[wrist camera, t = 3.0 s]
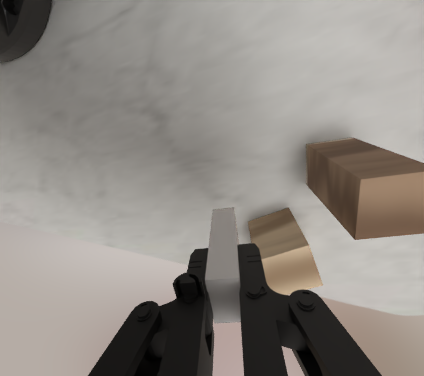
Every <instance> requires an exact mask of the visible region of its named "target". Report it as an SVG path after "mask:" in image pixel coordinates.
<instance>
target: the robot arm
mask: <svg viewBox="0 0 424 376" xmlns="http://www.w3.org/2000/svg"><path fill="white" fill-rule="evenodd" d="M50 6H51V0H0V62H6V61H10V60H13V59H16V58H18V57H20V56H22V55H23V54H25V53H26V52H27V51H28V50H30V49H31V48H32V47H33V46H34V44H35V43H36V42H37V41H38V39H39V38H40V36H41V34H42V32H43V30H44V28H45V26H46V23H47V20H48V16H49V12H50ZM173 287H174V290H175V294H176V297H177V298H176V299H175V300H174V301H172V302H169V303H167V304H164V305H162V306H158V304H157V303H155V302H153V301H146V302H143V303H141V304H139V305H138V306H136V307H135V308H134V310H133V311H132V312H131V313H130V315H129V316H128V318H127V319H126V321H125V322H124V324H123V325H122V327H121V328H120V329H119V331H118V333H117V334H116V335H115V337H114V338H113V340H112V341H111V343H110V344H109V346H108V347H107V349H106V350H105V351H104V353H103V354H102V356H101V357H100V359H99V360H98V362H97V363H96V365H95V366H94V368H93V369H92V371H91V372H90V374H89V375H88V376H212V371H213V349H214V331H213V319H214V323H230V322H241V331H242V347H243V362H244V376H288V374H287V369H286V365H285V360H284V356H283V351H282V346H284V347H287V348H290V349H292V351H293V353H294V355H295V357H296V358H297V361H298V363H299V365H300V367H301V369H302V371H303V373H304V375H305V376H382V375H381V374H380V373H379V372H378V370H377V369H376V368H375V366H374V365H373V364H372V363H371V361H370V360H369V359H368V358H367V356H366V355H365V354H364V352H363V351H362V350H361V349H360V347H359V346H358V345H357V343H356V342H355V341H354V340H353V338H352V337H351V336H350V335H349V333H348V332H347V331H346V329H345V328H344V327H343V326H342V324H341V323H340V322H339V321H338V319H337V318H336V317H335V315H334V314H333V313H332V312H331V310H330V309H329V308H328V307H327V305H326V304H325V303H324V301H323V300H322V299H321V298H320V297H319V296H318V295H317V294H316V293H314V292H312V291H309V290H304V289H302V290H296V291H294V292H292V293H291V295H290V296H288V295H283V294H280V293H277V292H275V291H273V290H272V289H271V288H270V287H269V286H268V285H267V282H266V278H265V273H264V269H263V264H262V259H261V255H260V250H259V248H258V247H257V245H256V244H255V243H250V244H240V245H239V240H238V232H237V225H236V218H235V211H234V207H233V208H224V209H215V210H213V213H212V222H211V231H210V239H209V248H204V249H195V250H194V252H193V253H192V254H191V256H190V260H189V265H188V270H187V273H183V274H181V275H180V276H178V277H177V278H176V279H175V280H174V283H173Z"/></svg>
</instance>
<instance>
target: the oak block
mask: <svg viewBox="0 0 424 376" xmlns="http://www.w3.org/2000/svg"><path fill="white" fill-rule="evenodd" d="M248 225H249V231H250V236H251V242H252V243H255V244H256V245H257V247H258V248H259V250H260V255H261V259H262V264H263V269H264V273H265V278H266V282H267V285H268V286H269V287H270V288H271V289H272V290H273V291H275V292H277V293H280V294H283V295H288V294H291V293H292V292H294V291H296V290H302V289H304V290H307V289H311V288H314V287H318V286H322V285H323V284H322V281H321V278H320V275H319V272H318V270H317V267H316V264H315V261H314V258H313V255H312V252H311V249H310V246H309V244H308V242H307V240H306V239H305V237H304V235H303V233H302V231H301V229H300V228H299V226H298V224H297V222H296V220H295V219H294V217H293V215H292V213H291V211H290V209H289V208H286V209H283V210H280V211H277V212H275V213H272V214H269V215H266V216H263V217H260V218H257V219H254V220H252V221H249V222H248Z"/></svg>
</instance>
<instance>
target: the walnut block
mask: <svg viewBox="0 0 424 376" xmlns="http://www.w3.org/2000/svg"><path fill="white" fill-rule="evenodd" d="M306 185H307V186H308V187H309V188H310V189H311V190H312V191H313V193H314V194H315V195H316V196H317V197H318V198H319V199H320V201H321V202H322V203H323V204H324V205H325V206H326V207H327V209H328V210H329V211H330V212H331V213H332V214H333V215H334V217H335V218H336V219H337V220H338V221H339V222H340V223H341V225H342V226H343V227H344V228H345V229H346V230H347V231H348V232H349V234H350V235H351V236H352V237H353V238H354V239H355V240H359V239H369V238H380V237H390V236H401V235H411V234H422V233H424V163H422V162H419V161H416V160H413V159H410V158H408V157H405V156H402V155H399V154H397V153H394V152H391V151H388V150H385V149H383V148H380V147H377V146H374V145H371V144H369V143H366V142H363V141H360V140H358V139H355V138H346V139H339V140H332V141H325V142H318V143H311V144H306Z"/></svg>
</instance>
